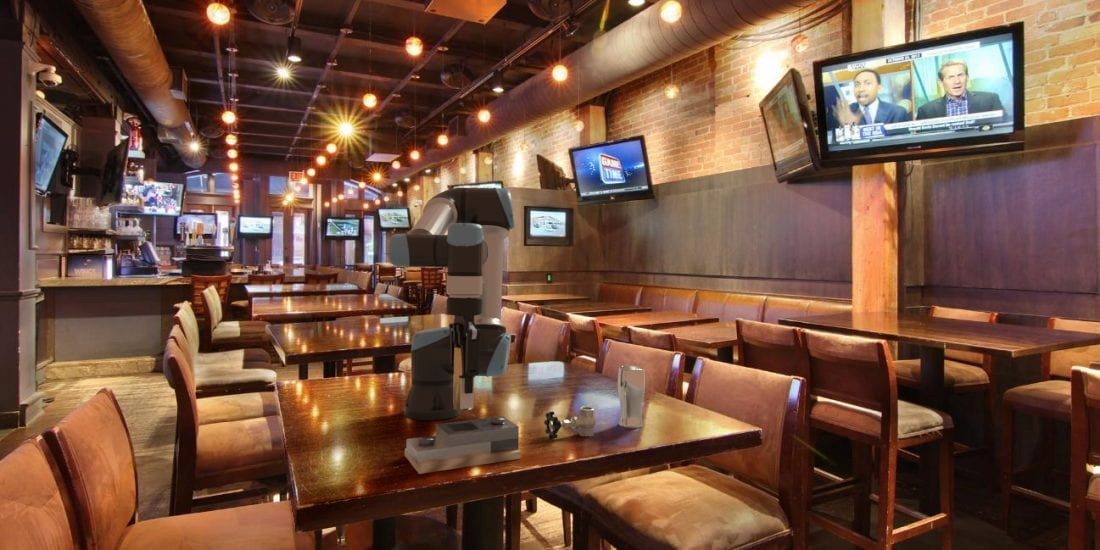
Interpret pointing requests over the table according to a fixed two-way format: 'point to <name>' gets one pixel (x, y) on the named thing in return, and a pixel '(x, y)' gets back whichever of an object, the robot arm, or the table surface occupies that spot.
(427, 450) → the stepped bolted base plate
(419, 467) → the board
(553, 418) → the valve
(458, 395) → the brass pin
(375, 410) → the table surface
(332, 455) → the table surface
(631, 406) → the beer glass
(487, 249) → the robot arm
